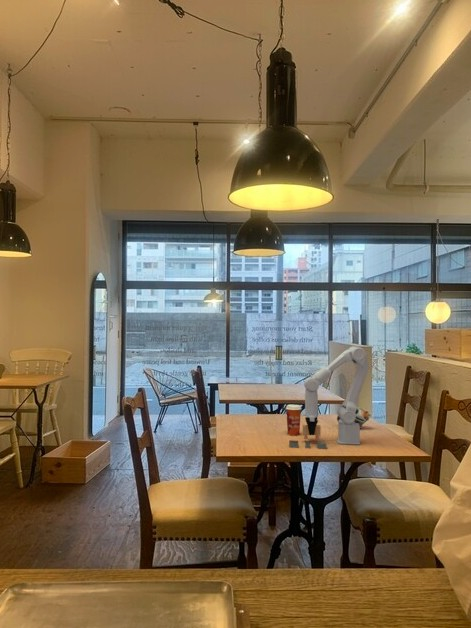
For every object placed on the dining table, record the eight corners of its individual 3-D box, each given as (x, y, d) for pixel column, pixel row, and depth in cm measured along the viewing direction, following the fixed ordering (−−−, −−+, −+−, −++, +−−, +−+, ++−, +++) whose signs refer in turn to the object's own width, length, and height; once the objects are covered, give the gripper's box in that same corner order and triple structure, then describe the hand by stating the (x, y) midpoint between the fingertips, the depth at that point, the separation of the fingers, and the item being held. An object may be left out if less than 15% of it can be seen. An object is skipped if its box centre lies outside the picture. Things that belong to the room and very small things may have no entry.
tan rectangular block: (320, 438, 199) (320, 425, 200) (320, 439, 196) (320, 426, 197) (302, 437, 200) (302, 424, 201) (302, 439, 197) (302, 426, 198)
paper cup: (289, 436, 208) (289, 407, 208) (283, 433, 215) (283, 404, 215) (304, 435, 210) (304, 406, 210) (297, 432, 217) (297, 404, 218)
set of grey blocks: (325, 446, 191) (325, 441, 191) (326, 448, 187) (326, 444, 187) (289, 444, 193) (289, 440, 193) (289, 447, 189) (289, 442, 189)
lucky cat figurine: (360, 424, 237) (370, 403, 232) (364, 438, 225) (375, 416, 220) (334, 416, 236) (344, 395, 231) (337, 429, 225) (348, 408, 220)
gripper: (302, 401, 207) (302, 430, 206) (303, 406, 192) (303, 437, 192) (317, 401, 206) (317, 430, 205) (319, 407, 191) (319, 438, 191)
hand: (311, 434), depth 198 cm, fingers closed on tan rectangular block, 3 cm apart
